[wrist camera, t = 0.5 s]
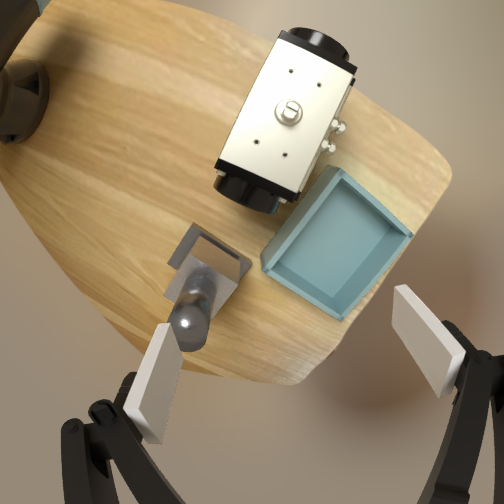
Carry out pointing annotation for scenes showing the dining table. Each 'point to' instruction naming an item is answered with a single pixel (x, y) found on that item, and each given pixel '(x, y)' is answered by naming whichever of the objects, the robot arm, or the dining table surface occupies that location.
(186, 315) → the block with domed cylinder
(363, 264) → the bin
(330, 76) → the ball valve
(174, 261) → the stud plate
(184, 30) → the dining table surface
